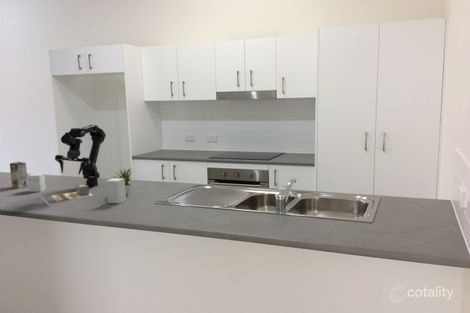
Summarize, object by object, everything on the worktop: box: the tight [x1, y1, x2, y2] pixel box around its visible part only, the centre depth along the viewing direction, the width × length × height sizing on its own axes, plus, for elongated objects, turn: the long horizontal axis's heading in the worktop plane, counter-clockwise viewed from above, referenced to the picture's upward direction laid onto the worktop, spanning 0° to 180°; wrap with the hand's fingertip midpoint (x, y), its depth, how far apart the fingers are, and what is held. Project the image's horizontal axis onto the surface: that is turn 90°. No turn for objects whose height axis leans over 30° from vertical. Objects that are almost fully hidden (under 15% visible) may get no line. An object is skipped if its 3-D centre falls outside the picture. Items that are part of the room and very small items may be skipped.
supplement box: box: [105, 177, 127, 204], centre depth 215 cm, size 7×7×13 cm
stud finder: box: [75, 183, 90, 196], centre depth 230 cm, size 5×9×5 cm, turn 37°
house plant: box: [112, 167, 133, 197], centre depth 231 cm, size 14×14×16 cm
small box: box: [27, 173, 47, 193], centre depth 244 cm, size 8×6×10 cm
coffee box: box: [9, 161, 29, 189], centre depth 255 cm, size 9×6×16 cm
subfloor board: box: [51, 191, 94, 202], centre depth 227 cm, size 20×16×1 cm
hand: (70, 173), depth 227 cm, fingers open, 9 cm apart
